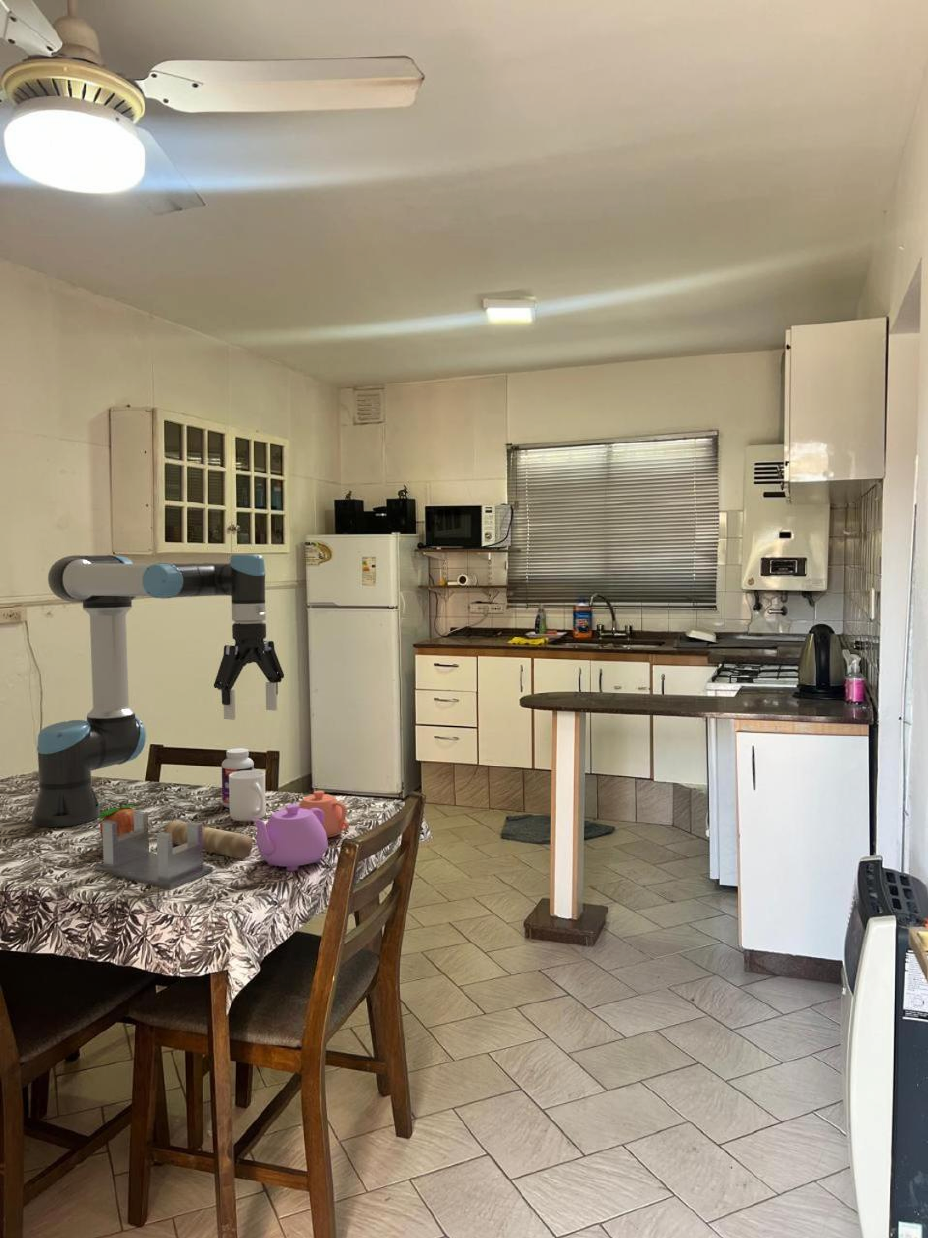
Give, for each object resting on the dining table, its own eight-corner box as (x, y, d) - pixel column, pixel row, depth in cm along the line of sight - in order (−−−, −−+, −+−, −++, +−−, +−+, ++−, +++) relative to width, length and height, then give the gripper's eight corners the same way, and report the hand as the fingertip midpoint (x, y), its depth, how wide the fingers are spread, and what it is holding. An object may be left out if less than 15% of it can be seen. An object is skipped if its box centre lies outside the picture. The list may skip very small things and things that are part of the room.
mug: (245, 827, 206) (244, 783, 205) (223, 816, 215) (222, 773, 214) (278, 820, 211) (277, 777, 210) (255, 810, 220) (254, 768, 220)
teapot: (276, 885, 168) (275, 824, 168) (229, 870, 177) (228, 811, 176) (348, 857, 184) (347, 801, 184) (302, 844, 193) (301, 790, 192)
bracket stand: (94, 870, 177) (93, 822, 177) (138, 854, 187) (137, 808, 186) (169, 889, 166) (168, 838, 166) (212, 872, 176) (211, 823, 175)
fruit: (150, 846, 192) (149, 802, 192) (108, 857, 185) (106, 811, 185) (133, 837, 198) (132, 794, 198) (91, 847, 192) (90, 803, 191)
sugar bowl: (313, 824, 208) (312, 782, 207) (363, 832, 202) (362, 789, 201) (281, 839, 197) (280, 795, 196) (332, 847, 191) (331, 802, 190)
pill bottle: (221, 810, 220) (220, 754, 219) (222, 802, 227) (221, 748, 226) (254, 808, 221) (253, 752, 221) (254, 800, 229) (253, 746, 228)
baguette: (163, 845, 193) (163, 823, 193) (180, 840, 198) (180, 818, 197) (235, 862, 182) (235, 838, 182) (252, 855, 187) (252, 832, 186)
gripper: (220, 626, 185) (223, 724, 186) (297, 619, 207) (299, 707, 208) (195, 625, 189) (198, 721, 190) (273, 618, 210) (275, 705, 212)
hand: (251, 714), depth 199 cm, fingers open, 13 cm apart
